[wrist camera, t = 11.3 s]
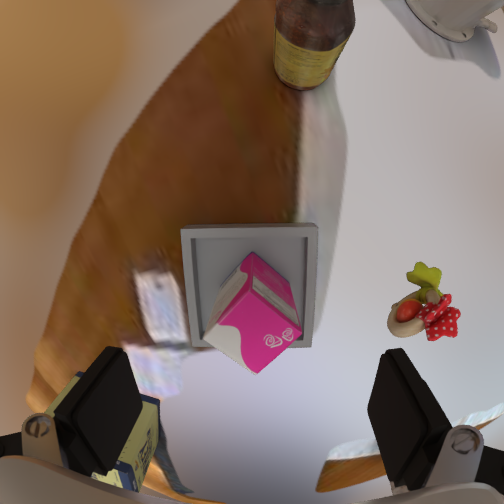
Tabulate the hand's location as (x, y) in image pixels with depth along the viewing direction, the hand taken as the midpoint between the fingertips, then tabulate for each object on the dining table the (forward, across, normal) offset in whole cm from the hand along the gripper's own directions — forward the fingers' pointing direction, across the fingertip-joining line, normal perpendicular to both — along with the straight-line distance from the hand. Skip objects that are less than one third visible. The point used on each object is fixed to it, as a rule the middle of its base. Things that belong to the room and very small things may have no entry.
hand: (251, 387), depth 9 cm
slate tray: (+24, +2, +5) cm, 24 cm away
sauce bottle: (+24, -5, -20) cm, 32 cm away
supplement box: (+23, +1, +5) cm, 23 cm away
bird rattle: (+24, -18, +8) cm, 31 cm away
